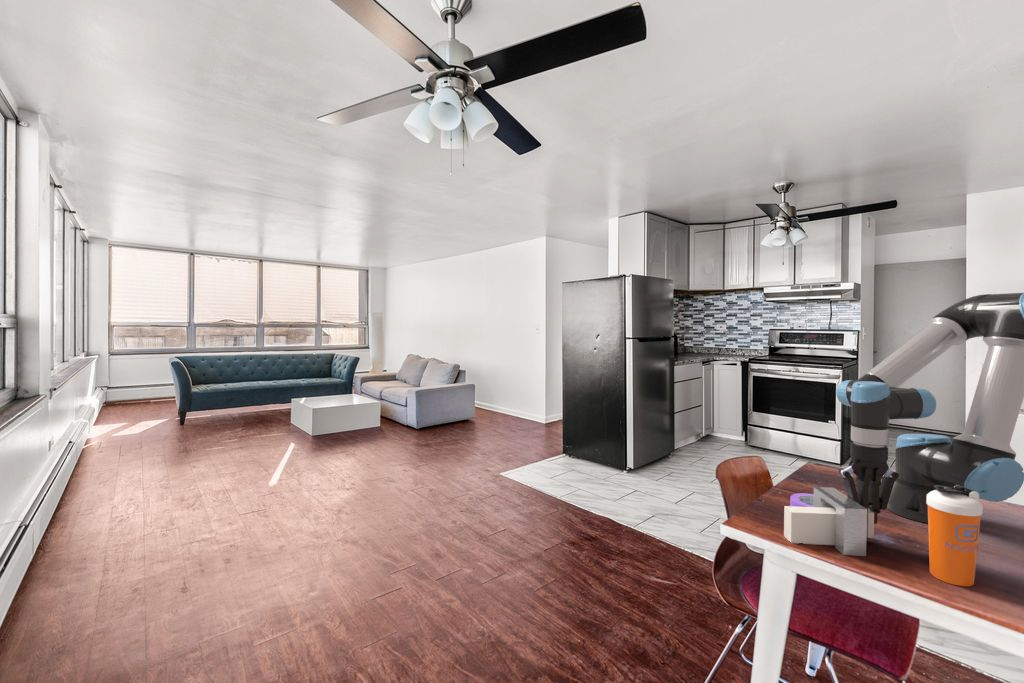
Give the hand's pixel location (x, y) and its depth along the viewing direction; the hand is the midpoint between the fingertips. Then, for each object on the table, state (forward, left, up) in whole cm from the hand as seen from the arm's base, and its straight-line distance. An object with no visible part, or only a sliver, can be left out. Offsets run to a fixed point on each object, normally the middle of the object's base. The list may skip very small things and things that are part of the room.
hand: (867, 535), depth 117 cm
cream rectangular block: (+11, 0, -2) cm, 11 cm away
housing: (+7, 0, -2) cm, 7 cm away
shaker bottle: (-8, +15, -2) cm, 17 cm away
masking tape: (+4, -18, -2) cm, 19 cm away
